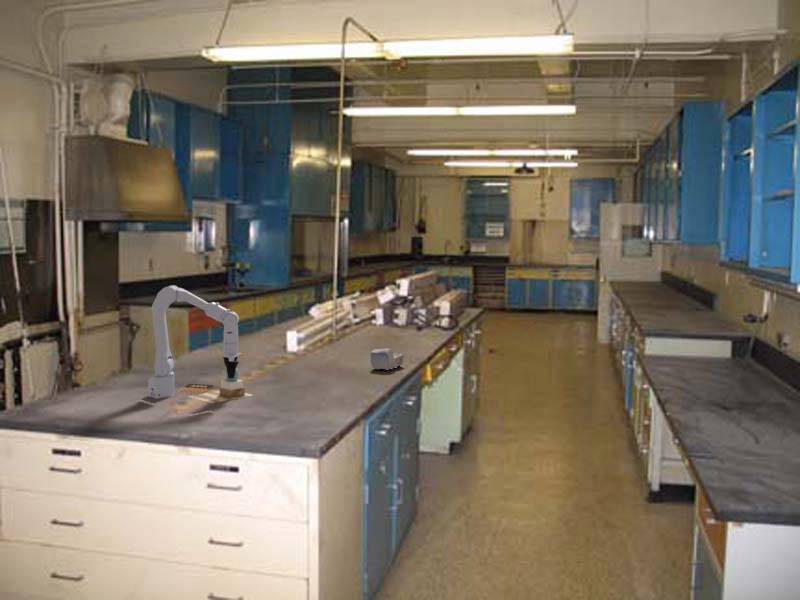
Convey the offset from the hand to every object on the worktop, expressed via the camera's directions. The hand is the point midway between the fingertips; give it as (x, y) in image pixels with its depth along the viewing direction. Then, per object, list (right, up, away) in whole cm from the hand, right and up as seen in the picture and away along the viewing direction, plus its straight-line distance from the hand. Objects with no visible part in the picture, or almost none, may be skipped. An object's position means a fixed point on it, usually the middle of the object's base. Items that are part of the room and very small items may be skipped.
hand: (230, 376), depth 301 cm
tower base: (0, -8, +1) cm, 8 cm away
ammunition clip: (-15, -6, +15) cm, 22 cm away
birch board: (-4, -8, 0) cm, 9 cm away
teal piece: (0, -2, 0) cm, 2 cm away
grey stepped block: (+61, -4, +71) cm, 93 cm away
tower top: (0, -5, +1) cm, 5 cm away
